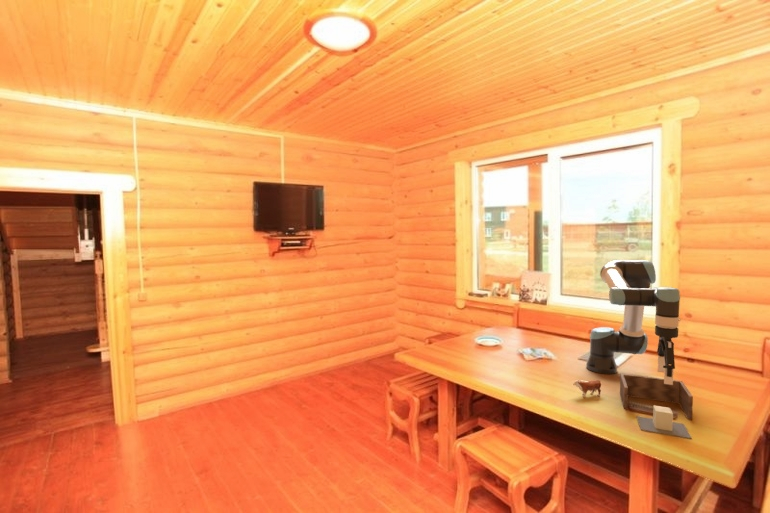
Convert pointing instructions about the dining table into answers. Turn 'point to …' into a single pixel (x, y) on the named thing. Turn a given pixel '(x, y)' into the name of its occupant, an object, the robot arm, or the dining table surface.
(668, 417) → the beige block
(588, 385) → the bull figurine
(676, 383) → the open box
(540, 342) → the dining table surface
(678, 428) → the grey mat
